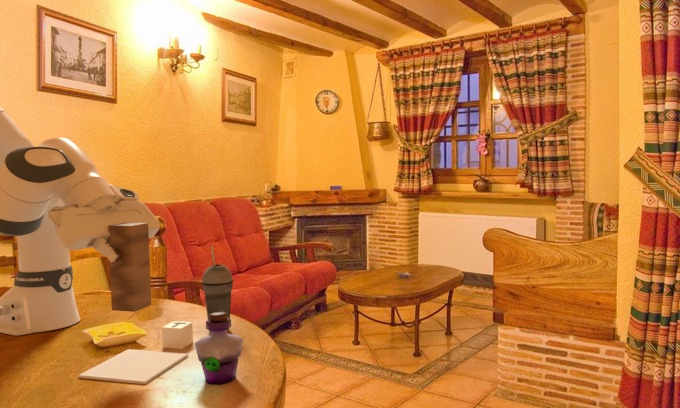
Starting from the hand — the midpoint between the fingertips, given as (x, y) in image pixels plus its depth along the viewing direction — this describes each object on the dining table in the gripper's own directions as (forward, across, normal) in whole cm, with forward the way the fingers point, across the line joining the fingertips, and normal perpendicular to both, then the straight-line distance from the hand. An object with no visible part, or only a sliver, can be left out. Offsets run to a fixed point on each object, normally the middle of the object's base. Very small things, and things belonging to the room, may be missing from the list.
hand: (132, 256), depth 97 cm
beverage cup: (+15, +25, +16) cm, 33 cm away
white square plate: (+15, 0, +16) cm, 21 cm away
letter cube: (+14, +13, +17) cm, 25 cm away
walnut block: (+7, 0, +7) cm, 10 cm away
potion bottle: (+28, +2, +2) cm, 28 cm away
